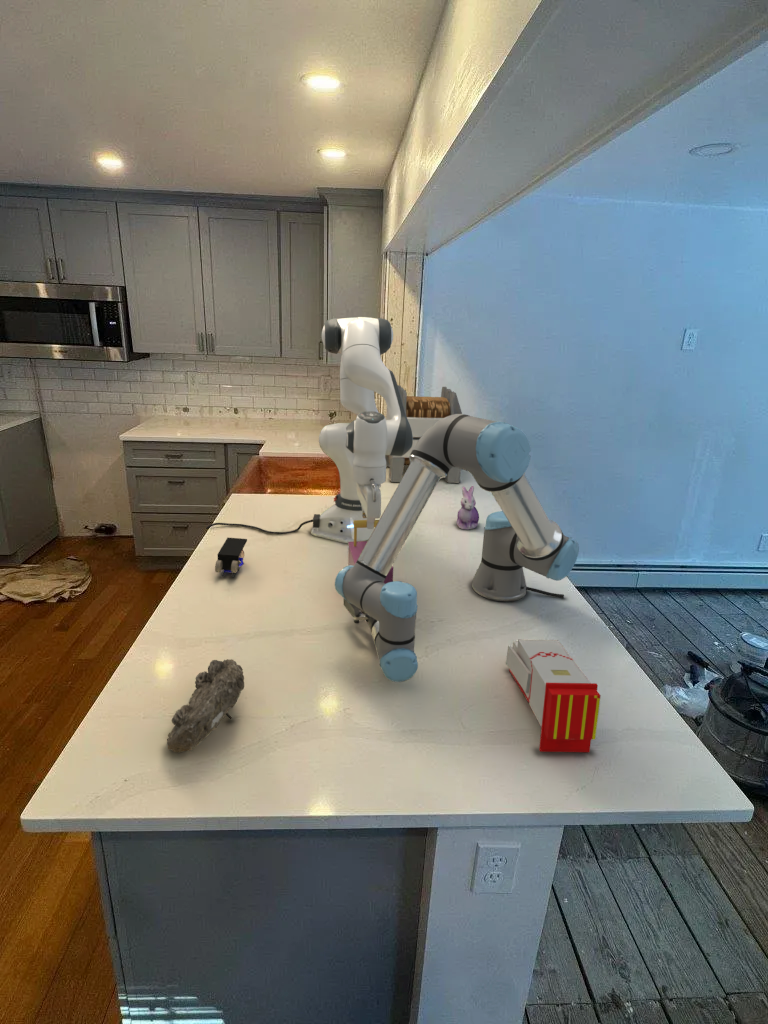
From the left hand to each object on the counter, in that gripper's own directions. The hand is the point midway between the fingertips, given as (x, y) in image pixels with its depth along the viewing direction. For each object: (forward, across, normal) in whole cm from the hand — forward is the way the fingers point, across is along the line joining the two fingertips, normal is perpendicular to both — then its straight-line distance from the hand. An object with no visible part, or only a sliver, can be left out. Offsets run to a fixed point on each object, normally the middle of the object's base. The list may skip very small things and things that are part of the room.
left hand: (367, 522), depth 155 cm
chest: (+19, -6, 0) cm, 20 cm away
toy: (+19, -55, -28) cm, 65 cm away
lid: (+8, -6, 0) cm, 10 cm away
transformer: (+19, +114, -43) cm, 123 cm away
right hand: (+13, -11, 0) cm, 17 cm away
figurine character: (+19, +14, +38) cm, 44 cm away
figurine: (+19, +44, -45) cm, 65 cm away
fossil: (+19, -51, +37) cm, 66 cm away
